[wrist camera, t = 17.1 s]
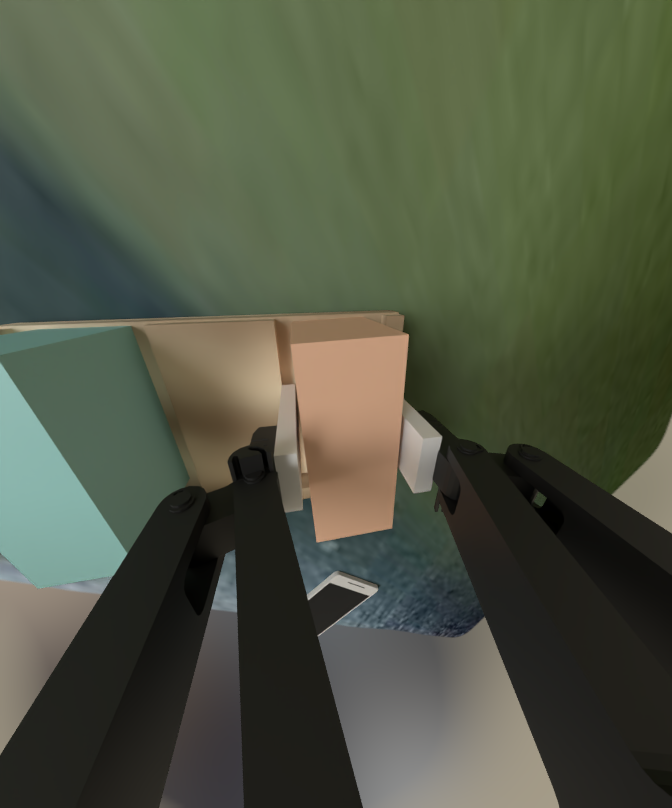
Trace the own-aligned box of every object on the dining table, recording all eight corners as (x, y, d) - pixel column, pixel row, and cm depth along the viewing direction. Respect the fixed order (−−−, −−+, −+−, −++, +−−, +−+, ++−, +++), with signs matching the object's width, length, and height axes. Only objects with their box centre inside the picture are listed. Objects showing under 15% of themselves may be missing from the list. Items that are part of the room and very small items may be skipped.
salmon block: (291, 321, 13) (290, 344, 8) (362, 316, 13) (409, 334, 8) (309, 464, 17) (316, 542, 12) (362, 456, 18) (392, 528, 12)
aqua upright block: (37, 329, 11) (-197, 365, 6) (130, 325, 12) (-5, 356, 6) (124, 486, 16) (37, 588, 10) (189, 478, 16) (139, 571, 11)
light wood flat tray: (18, 323, 12) (-59, 332, 9) (389, 310, 15) (410, 314, 12) (117, 493, 17) (86, 529, 15) (377, 460, 20) (390, 486, 18)
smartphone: (256, 633, 30) (255, 643, 29) (336, 566, 27) (337, 575, 26) (300, 641, 33) (300, 650, 32) (377, 581, 30) (380, 590, 29)
